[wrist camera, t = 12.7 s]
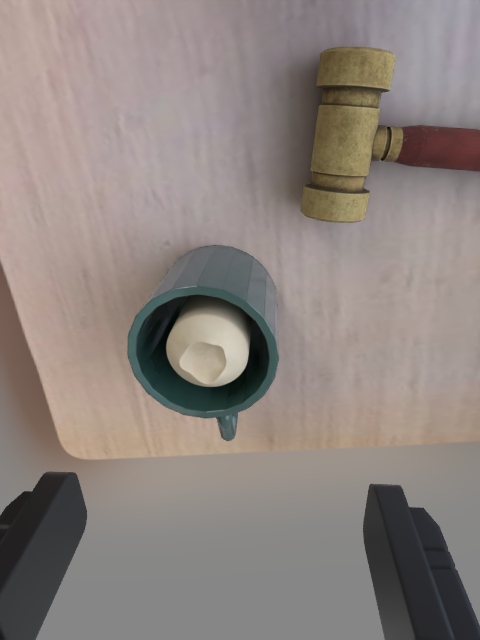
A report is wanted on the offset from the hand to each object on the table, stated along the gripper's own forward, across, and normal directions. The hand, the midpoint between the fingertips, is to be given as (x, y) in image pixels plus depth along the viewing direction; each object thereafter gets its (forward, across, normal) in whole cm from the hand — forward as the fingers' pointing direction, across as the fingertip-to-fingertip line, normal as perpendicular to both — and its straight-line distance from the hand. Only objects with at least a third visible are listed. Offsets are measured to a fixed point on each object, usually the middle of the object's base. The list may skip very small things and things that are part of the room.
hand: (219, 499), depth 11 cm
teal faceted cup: (+25, +3, +7) cm, 26 cm away
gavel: (+25, -14, -7) cm, 30 cm away
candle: (+24, +3, +5) cm, 25 cm away
